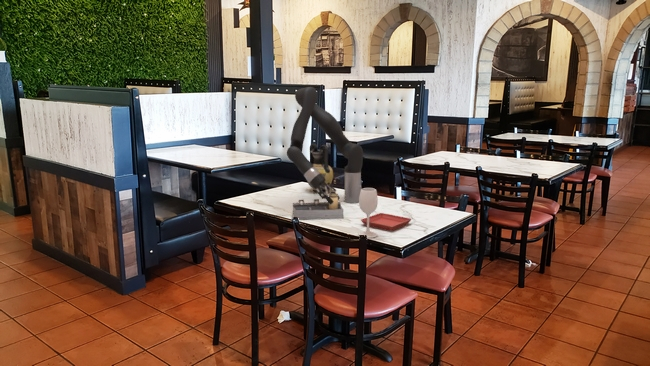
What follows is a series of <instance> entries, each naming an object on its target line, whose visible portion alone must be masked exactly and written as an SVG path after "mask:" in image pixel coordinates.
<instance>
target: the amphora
mask: <svg viewBox="0 0 650 366" xmlns="http://www.w3.org/2000/svg"><path fill="white" fill-rule="evenodd" d="M309 161H310V162H311V164H312V165H313V166H314V167H315V168H316V169H317V170H318V171H319V172H320V173H321V174H322V175H323V177H324V178H325V179H326V181H325V183H326V184H327V183H328V182H329V183H330V184H331V185H332V181H333V180H334V170H333V167H331V166H330V165H329V147H328V146H327V145H326V144H322V145H320V147H319V148H318V145H317V144H316V143H311V144H310V146H309ZM306 182H307V184H308V186H309V187H310V188H311V189H312V193H315V194H318V193H317V192H316V191H315V190H316V189H314V187H313V186H312V185H311V184H310V183H309V182H308V180H307V179H306Z"/></svg>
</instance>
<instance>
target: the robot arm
mask: <svg viewBox="0 0 650 366" xmlns="http://www.w3.org/2000/svg"><path fill="white" fill-rule="evenodd" d="M294 97H295V101H296V102H297V104H298V105H299V106H300V107H301V110H300V112H299V114H298V116H297V118H296V120H295V122H294V124H293V127H292V131H291V135H290V145H289V147H288V148H287V150H286V156H287V158H288V159H289V160H290V161H291V162H292V163H293V164H294V165H295V166H296V167H297V169H298V171H299V172H300V173H301V174H302V176H303V177H304V178H305V179H306V181H307V180H308V182H309V183H310V184H311V185H312V186H313V187H314V189H316V190H315V191H316V192H317V193H316V194H317V195H318V196H319V197H320V198H321V200H326V202H329V204H332V203H333V202H334V201H333V200H332V199H331V198H330V197H329V194H331V193H336V192H337V189H336V188H335V187H334V186H333V185H332V183H331V184H330V183H329V182H328V183H327V184H326V183H325V181H326V179H325V178H324V177H323V175H322V174H321V173H320V172H319V171H318V170H317V169H316V168H315V167H314V166H313V165H312V164H311V162H310V159H307V157H306V156H305V154H304V153H303V147H304V141H305V138H306V132H307V130H308V125H309V122H310V119H311V118H312V119H313V121H314V122H315V123H316V124H317V125H318V126H319V127H320V129H321V130H322V131H323V132H324V133H325V134H326V136H327V137H328V138H329V139H330V141H332V143H334V145H335V146H337V149H338V150H339V151H340V153H341V155H343V157H344V158H345V159H347V160H348V161H347V165H346V166H344V202H345V203H347V204H357V203H359V197H360V192H361V189H362V184H361V183H362V182H361V181H362V178H361V177H362V175H361V174H362V168H363V163H364V161H363V159H364V151H363V148H362V147H363V146H361V145H360V144H356V143H352V142H351V141H350V140H349V139H348V138H347V136H346V135H345V134H344V132H343V129H342V127H341V124H340V123H339V121H338V120H337V119H336V118H335V116H334V115H332V114H331V113H330V112H328V111H327V110H325V109H324V108H322V107H321V106H319V105H318V104H317V100H318V91H317V90H316V88H315V87H313V86H306V87H302V88H299V89H298V90H296V91H295V94H294ZM308 182H307V183H308ZM336 194H337V193H336ZM340 199H341V198H340V196H339V195H338V201H339V200H340Z"/></svg>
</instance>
